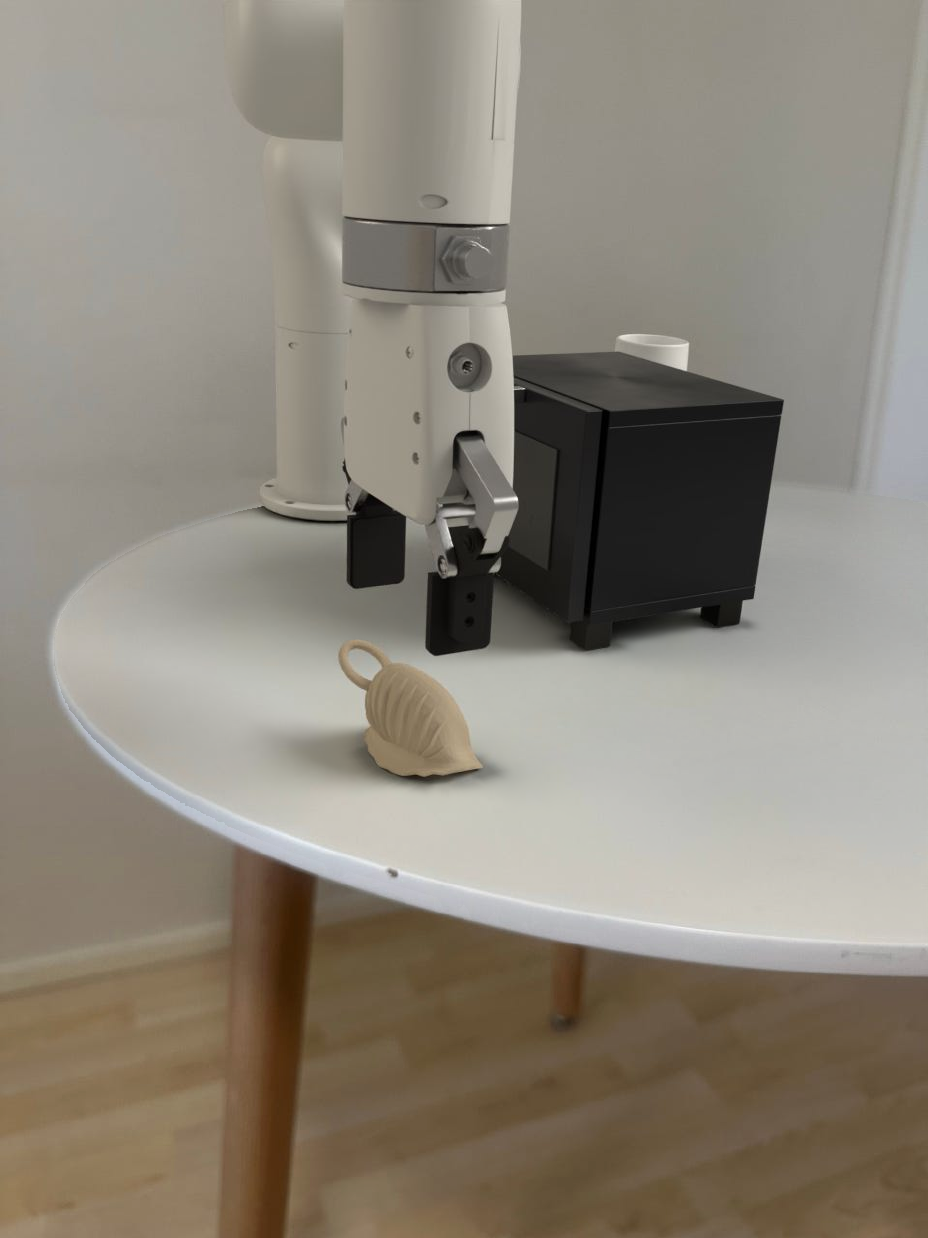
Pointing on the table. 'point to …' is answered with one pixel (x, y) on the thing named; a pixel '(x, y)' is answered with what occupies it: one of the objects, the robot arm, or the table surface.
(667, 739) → the table surface
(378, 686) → the decorative ornament
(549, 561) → the oven door
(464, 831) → the table surface
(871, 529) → the table surface
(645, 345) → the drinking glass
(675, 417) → the oven
